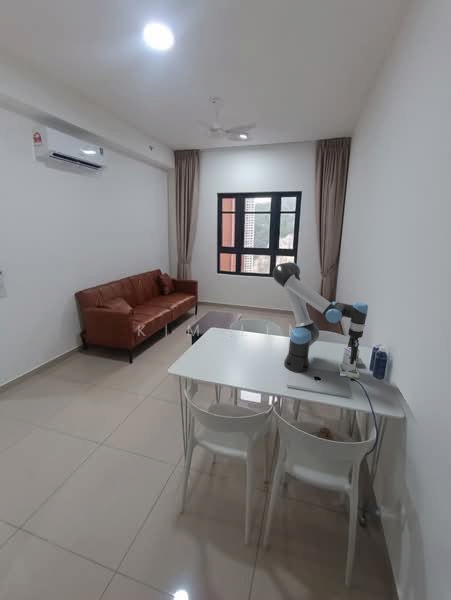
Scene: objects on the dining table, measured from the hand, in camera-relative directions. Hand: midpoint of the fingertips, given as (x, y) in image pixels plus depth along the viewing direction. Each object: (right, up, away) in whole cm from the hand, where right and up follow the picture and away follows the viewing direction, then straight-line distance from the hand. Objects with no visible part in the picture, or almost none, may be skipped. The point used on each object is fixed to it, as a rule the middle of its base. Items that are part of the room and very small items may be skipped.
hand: (349, 365), depth 161 cm
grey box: (+8, -3, +9) cm, 13 cm away
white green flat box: (0, -5, +1) cm, 5 cm away
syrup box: (0, -4, +1) cm, 4 cm away
